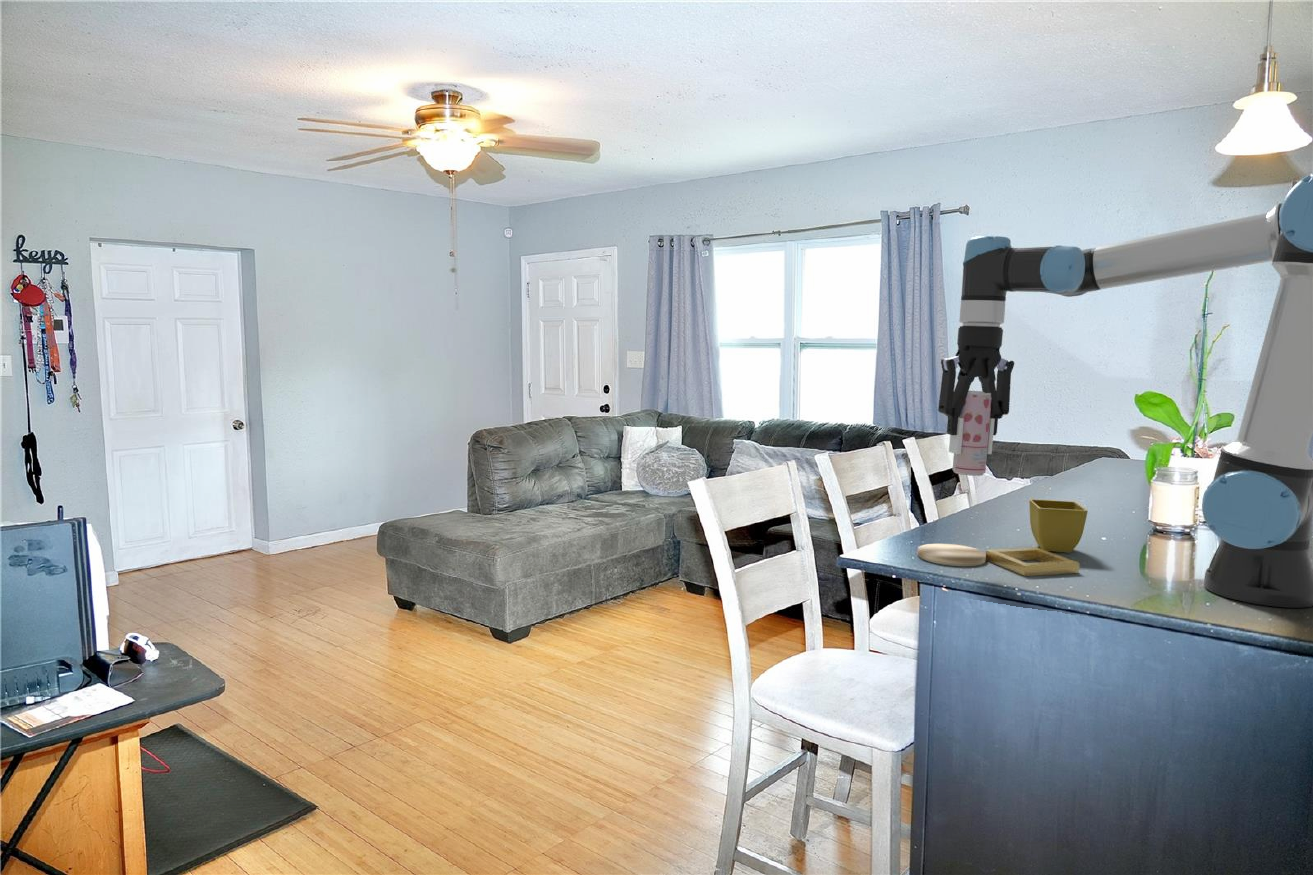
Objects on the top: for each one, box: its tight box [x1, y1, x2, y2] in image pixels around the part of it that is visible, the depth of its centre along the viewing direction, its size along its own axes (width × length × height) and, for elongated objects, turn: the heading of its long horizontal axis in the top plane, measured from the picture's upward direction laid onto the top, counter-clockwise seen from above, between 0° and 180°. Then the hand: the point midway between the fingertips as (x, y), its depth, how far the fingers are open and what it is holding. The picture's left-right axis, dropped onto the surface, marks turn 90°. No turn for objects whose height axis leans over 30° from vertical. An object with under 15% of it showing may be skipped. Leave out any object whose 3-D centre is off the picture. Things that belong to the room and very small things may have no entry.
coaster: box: [917, 543, 987, 567], centre depth 159 cm, size 12×12×1 cm
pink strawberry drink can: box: [952, 390, 992, 477], centre depth 155 cm, size 6×6×15 cm
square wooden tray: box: [985, 547, 1080, 577], centre depth 153 cm, size 11×11×2 cm
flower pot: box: [1028, 498, 1088, 553], centre depth 166 cm, size 9×9×9 cm
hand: (970, 452), depth 156 cm, fingers closed on pink strawberry drink can, 6 cm apart
